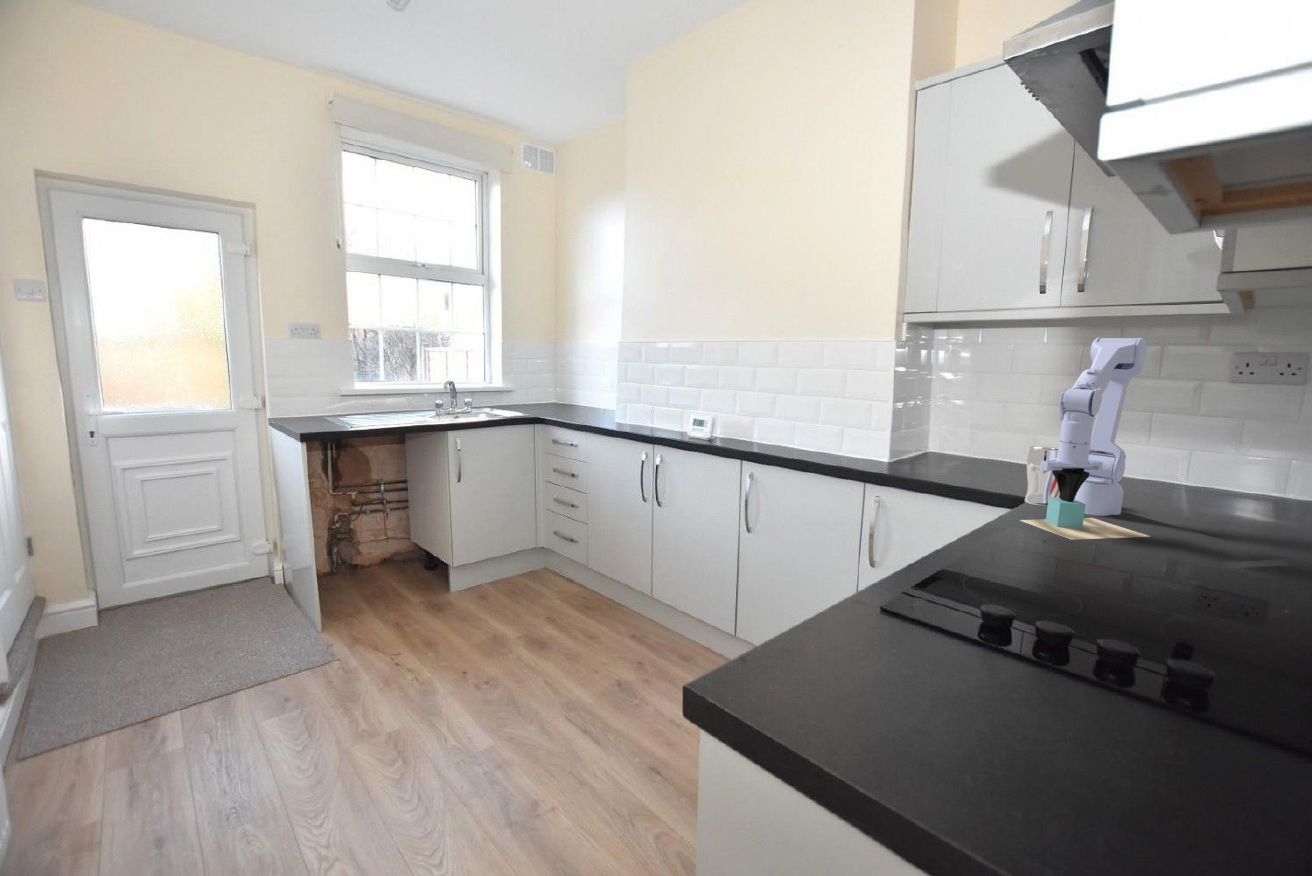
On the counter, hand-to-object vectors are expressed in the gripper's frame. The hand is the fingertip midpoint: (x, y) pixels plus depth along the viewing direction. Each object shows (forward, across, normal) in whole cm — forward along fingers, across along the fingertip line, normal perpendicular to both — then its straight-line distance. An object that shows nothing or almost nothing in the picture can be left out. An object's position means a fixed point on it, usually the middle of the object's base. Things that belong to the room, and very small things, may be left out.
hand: (1066, 501), depth 133 cm
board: (+6, -2, +3) cm, 7 cm away
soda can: (+7, -23, -23) cm, 33 cm away
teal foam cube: (+6, 0, 0) cm, 6 cm away
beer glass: (+7, -13, -21) cm, 26 cm away
